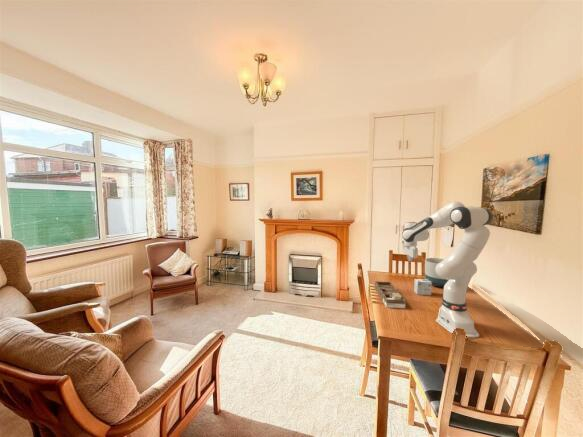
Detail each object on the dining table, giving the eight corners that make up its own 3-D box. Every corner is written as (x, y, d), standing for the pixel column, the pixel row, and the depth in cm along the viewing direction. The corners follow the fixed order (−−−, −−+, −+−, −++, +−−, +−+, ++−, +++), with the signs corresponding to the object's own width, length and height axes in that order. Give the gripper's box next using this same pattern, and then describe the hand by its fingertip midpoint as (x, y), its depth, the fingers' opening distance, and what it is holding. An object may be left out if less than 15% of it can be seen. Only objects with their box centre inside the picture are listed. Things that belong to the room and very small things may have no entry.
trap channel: (405, 308, 160) (405, 300, 160) (386, 307, 162) (386, 299, 161) (390, 288, 195) (390, 282, 194) (374, 287, 196) (375, 281, 196)
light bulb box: (427, 291, 187) (428, 278, 186) (431, 295, 181) (432, 282, 180) (413, 291, 188) (414, 278, 187) (417, 294, 182) (417, 281, 181)
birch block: (401, 302, 163) (401, 296, 163) (394, 301, 164) (394, 296, 163) (398, 298, 168) (399, 293, 168) (392, 298, 169) (392, 293, 168)
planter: (446, 292, 186) (448, 266, 184) (420, 284, 202) (421, 260, 200) (455, 285, 199) (456, 261, 197) (429, 279, 215) (430, 256, 213)
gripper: (420, 246, 165) (420, 265, 167) (409, 240, 185) (408, 257, 187) (411, 245, 166) (410, 264, 167) (401, 240, 186) (400, 257, 187)
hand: (409, 261), depth 177 cm, fingers closed
